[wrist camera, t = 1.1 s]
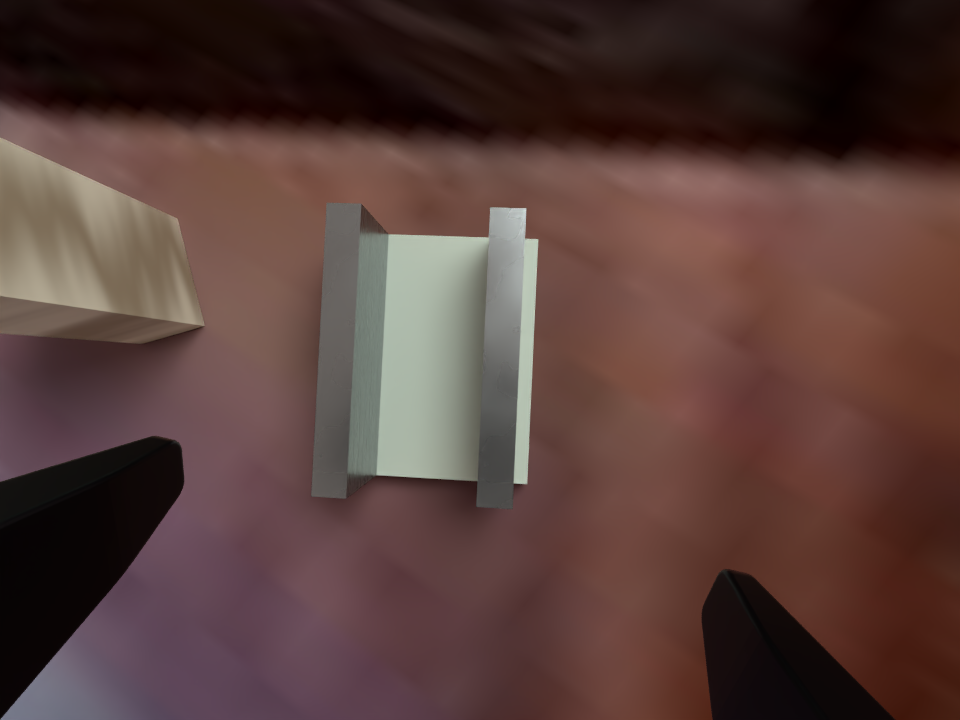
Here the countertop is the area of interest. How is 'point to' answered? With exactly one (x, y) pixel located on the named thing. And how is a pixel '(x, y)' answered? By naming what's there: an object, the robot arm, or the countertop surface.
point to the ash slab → (87, 258)
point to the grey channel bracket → (424, 355)
